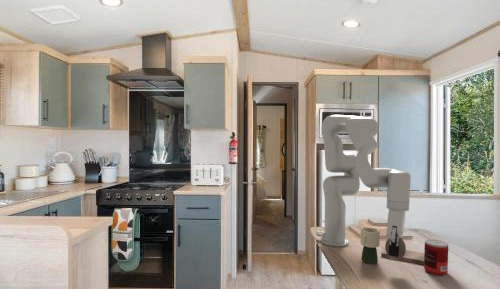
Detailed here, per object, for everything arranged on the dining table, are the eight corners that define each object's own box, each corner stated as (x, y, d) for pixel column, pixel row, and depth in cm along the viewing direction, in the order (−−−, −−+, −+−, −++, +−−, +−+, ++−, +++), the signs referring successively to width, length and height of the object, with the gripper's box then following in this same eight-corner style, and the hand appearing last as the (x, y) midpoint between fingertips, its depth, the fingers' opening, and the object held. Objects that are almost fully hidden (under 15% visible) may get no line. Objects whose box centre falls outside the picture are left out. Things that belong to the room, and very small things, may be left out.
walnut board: (381, 256, 136) (381, 253, 136) (385, 249, 145) (385, 246, 145) (424, 264, 128) (424, 261, 128) (426, 257, 136) (426, 253, 136)
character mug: (367, 256, 137) (368, 225, 136) (384, 261, 131) (385, 229, 131) (354, 262, 129) (354, 230, 129) (371, 268, 124) (372, 234, 124)
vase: (407, 261, 116) (408, 237, 116) (386, 259, 118) (388, 235, 117) (402, 254, 123) (403, 231, 122) (383, 252, 124) (384, 230, 124)
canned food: (447, 270, 123) (448, 241, 123) (447, 277, 116) (448, 247, 116) (424, 265, 127) (425, 237, 127) (423, 272, 120) (423, 243, 120)
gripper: (390, 199, 129) (388, 243, 129) (382, 207, 114) (379, 257, 115) (411, 202, 125) (409, 247, 126) (406, 211, 110) (403, 263, 111)
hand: (395, 252), depth 120 cm, fingers closed on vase, 6 cm apart
